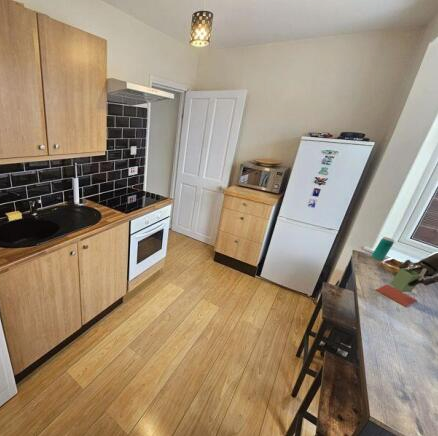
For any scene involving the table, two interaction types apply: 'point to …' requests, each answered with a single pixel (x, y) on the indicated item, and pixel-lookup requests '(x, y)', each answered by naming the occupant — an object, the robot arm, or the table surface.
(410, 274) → the green basket
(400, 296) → the mat
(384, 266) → the rattan basket
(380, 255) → the beverage can
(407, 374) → the table surface
